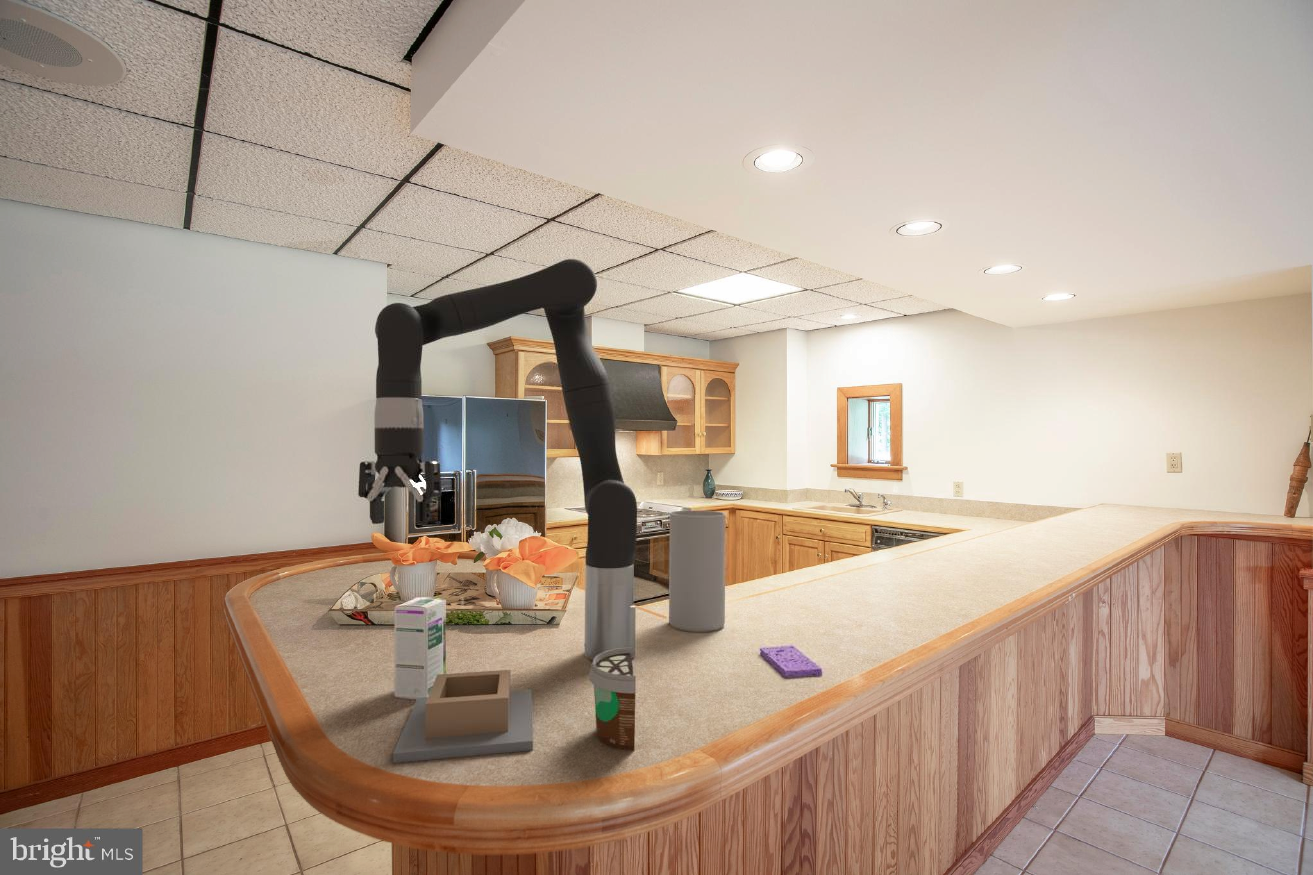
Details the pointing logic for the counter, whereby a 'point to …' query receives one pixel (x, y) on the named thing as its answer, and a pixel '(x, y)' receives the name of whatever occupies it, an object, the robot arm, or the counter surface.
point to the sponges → (790, 661)
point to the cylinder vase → (697, 570)
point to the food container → (614, 698)
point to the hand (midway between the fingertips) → (399, 523)
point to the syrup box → (419, 646)
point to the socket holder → (467, 718)
